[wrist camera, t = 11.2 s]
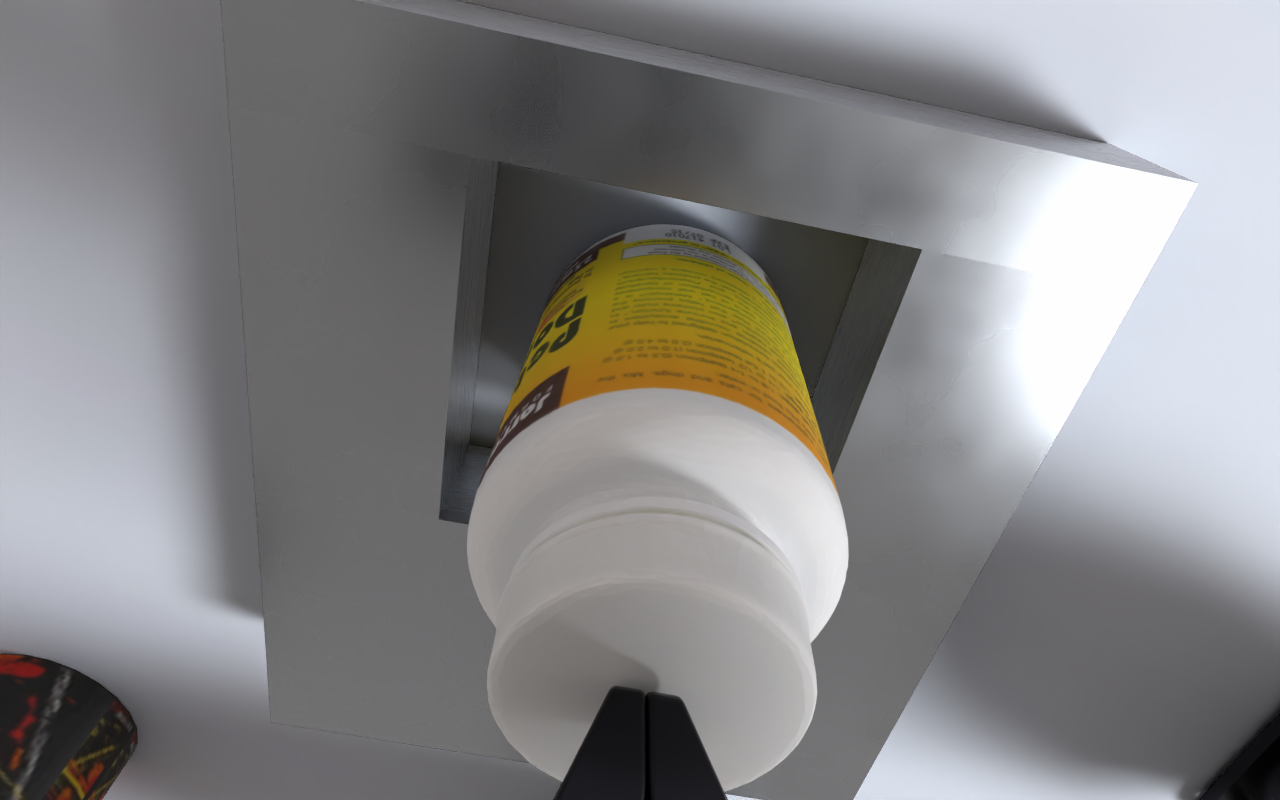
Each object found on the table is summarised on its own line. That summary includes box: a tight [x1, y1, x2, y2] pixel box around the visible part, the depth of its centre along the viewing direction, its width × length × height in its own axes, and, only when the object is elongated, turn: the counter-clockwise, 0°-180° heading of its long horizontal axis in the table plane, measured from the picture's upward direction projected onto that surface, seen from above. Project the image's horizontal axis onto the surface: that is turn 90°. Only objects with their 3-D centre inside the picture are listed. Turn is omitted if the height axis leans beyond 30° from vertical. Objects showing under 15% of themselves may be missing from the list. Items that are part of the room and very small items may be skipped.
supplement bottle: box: [467, 224, 849, 792], centre depth 14 cm, size 6×6×10 cm
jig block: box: [221, 0, 1198, 800], centre depth 18 cm, size 18×16×3 cm
